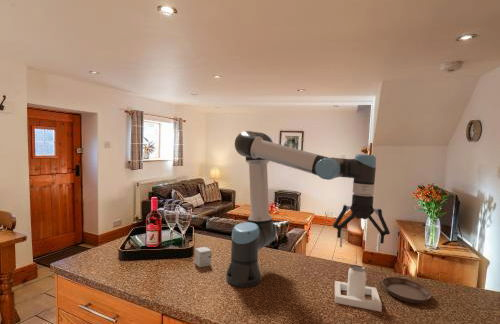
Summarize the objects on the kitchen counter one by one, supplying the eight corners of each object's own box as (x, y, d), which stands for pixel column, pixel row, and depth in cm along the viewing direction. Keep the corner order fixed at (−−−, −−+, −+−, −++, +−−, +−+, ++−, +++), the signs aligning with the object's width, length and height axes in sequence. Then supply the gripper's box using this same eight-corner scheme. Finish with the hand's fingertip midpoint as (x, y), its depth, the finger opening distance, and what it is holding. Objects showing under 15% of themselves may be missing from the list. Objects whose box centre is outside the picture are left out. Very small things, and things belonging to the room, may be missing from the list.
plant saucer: (435, 295, 112) (435, 288, 112) (425, 312, 99) (425, 304, 99) (389, 279, 124) (389, 273, 124) (375, 293, 112) (375, 285, 111)
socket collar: (335, 302, 102) (335, 296, 102) (334, 286, 115) (334, 280, 115) (381, 311, 98) (381, 304, 98) (375, 293, 110) (376, 287, 110)
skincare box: (199, 267, 127) (199, 252, 126) (194, 262, 132) (194, 248, 132) (211, 265, 130) (211, 250, 130) (205, 260, 135) (206, 246, 135)
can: (366, 303, 103) (368, 272, 102) (348, 301, 104) (350, 270, 103) (362, 295, 109) (364, 265, 108) (345, 292, 110) (347, 263, 110)
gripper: (329, 192, 104) (325, 246, 105) (401, 199, 97) (396, 257, 98) (329, 190, 112) (326, 240, 113) (396, 196, 105) (392, 250, 106)
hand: (359, 248), depth 106 cm, fingers open, 13 cm apart
